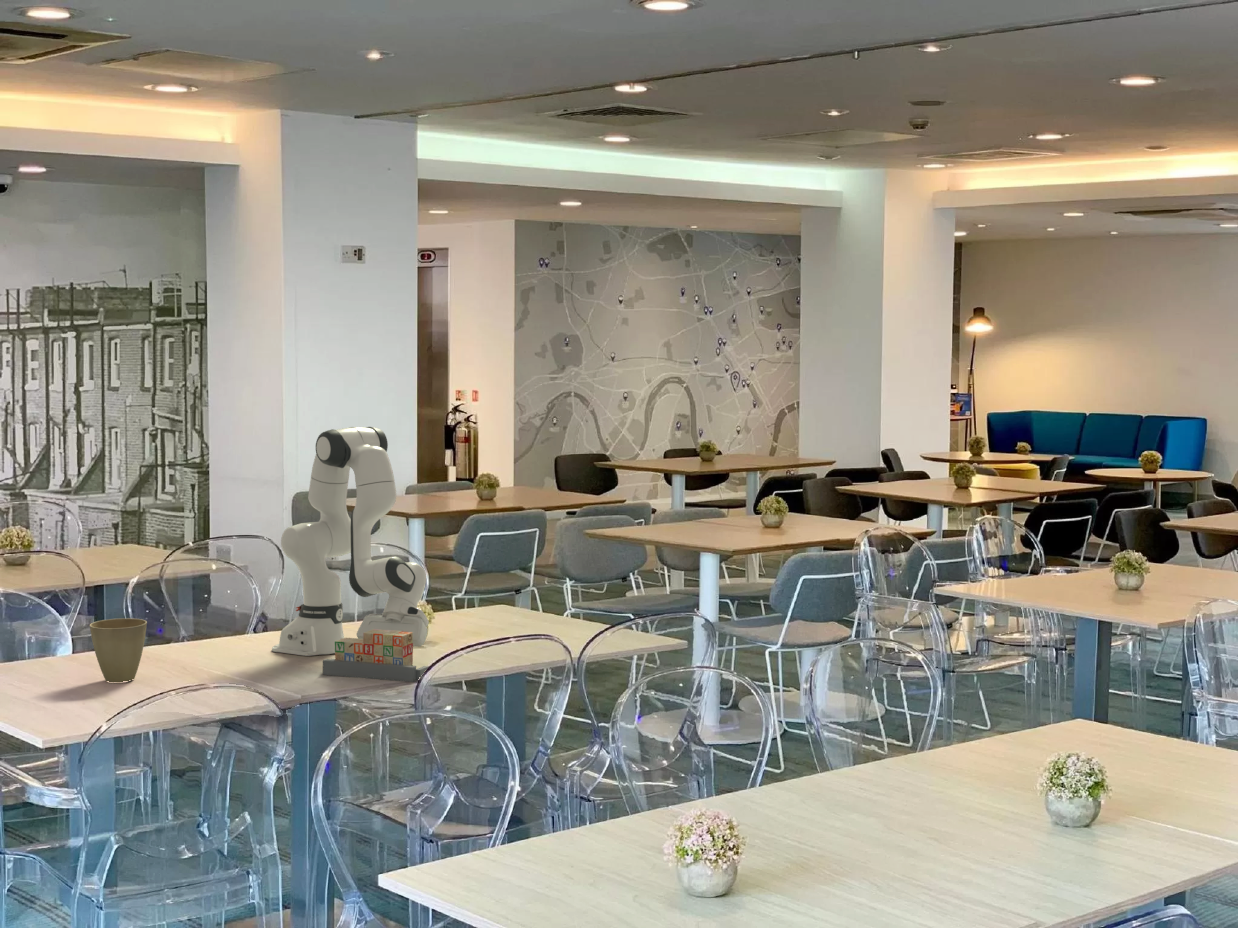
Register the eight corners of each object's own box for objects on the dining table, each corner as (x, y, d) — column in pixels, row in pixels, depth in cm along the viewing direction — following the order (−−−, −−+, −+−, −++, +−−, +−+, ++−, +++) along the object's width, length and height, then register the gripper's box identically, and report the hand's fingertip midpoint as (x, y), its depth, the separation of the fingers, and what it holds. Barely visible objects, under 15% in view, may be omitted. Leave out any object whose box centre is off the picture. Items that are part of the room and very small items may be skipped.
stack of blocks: (334, 674, 431) (333, 630, 430) (345, 669, 437) (345, 626, 436) (403, 679, 423) (402, 635, 422) (413, 675, 429) (413, 631, 428)
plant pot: (83, 679, 423) (81, 622, 422) (136, 672, 432) (135, 616, 431) (102, 689, 412) (100, 629, 410) (156, 681, 421) (155, 623, 419)
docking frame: (319, 674, 430) (318, 659, 430) (332, 669, 437) (331, 655, 436) (416, 682, 420) (416, 667, 419) (428, 677, 426) (428, 662, 426)
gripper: (362, 606, 442) (346, 647, 434) (426, 610, 435) (411, 651, 427) (370, 619, 447) (354, 659, 438) (434, 622, 440) (419, 664, 432)
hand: (383, 655), depth 433 cm, fingers closed, pressing on stack of blocks
